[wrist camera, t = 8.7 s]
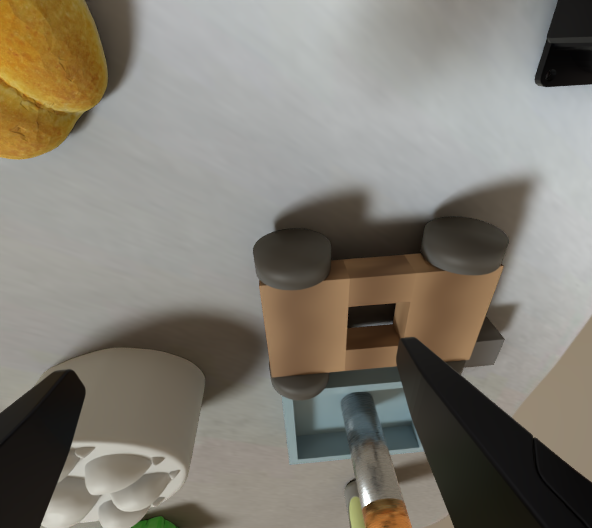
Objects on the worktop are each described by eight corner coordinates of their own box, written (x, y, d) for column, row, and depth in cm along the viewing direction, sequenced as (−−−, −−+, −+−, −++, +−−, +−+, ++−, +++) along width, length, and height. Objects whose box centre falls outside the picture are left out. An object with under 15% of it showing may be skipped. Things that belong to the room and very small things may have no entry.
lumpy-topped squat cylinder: (19, 375, 26) (-76, 501, 19) (166, 327, 24) (123, 445, 17) (104, 438, 32) (56, 554, 24) (228, 403, 30) (216, 516, 23)
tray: (434, 347, 27) (451, 376, 25) (414, 421, 34) (426, 451, 31) (280, 360, 27) (281, 392, 25) (288, 433, 33) (289, 464, 31)
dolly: (526, 210, 21) (580, 245, 17) (477, 341, 27) (509, 386, 24) (254, 231, 20) (251, 272, 17) (271, 359, 27) (272, 409, 23)
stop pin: (374, 389, 29) (417, 529, 21) (371, 409, 30) (410, 545, 22) (340, 393, 29) (370, 534, 20) (339, 412, 30) (367, 550, 22)
